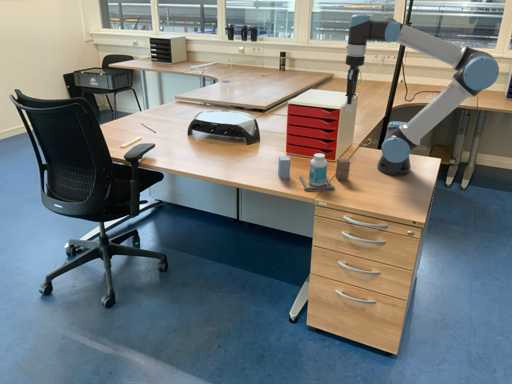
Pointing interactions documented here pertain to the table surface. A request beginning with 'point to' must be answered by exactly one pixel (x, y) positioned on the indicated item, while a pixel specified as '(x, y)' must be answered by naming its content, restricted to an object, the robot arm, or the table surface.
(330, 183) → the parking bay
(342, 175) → the walnut block
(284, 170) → the slate-blue block
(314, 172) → the pill bottle
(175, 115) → the table surface
